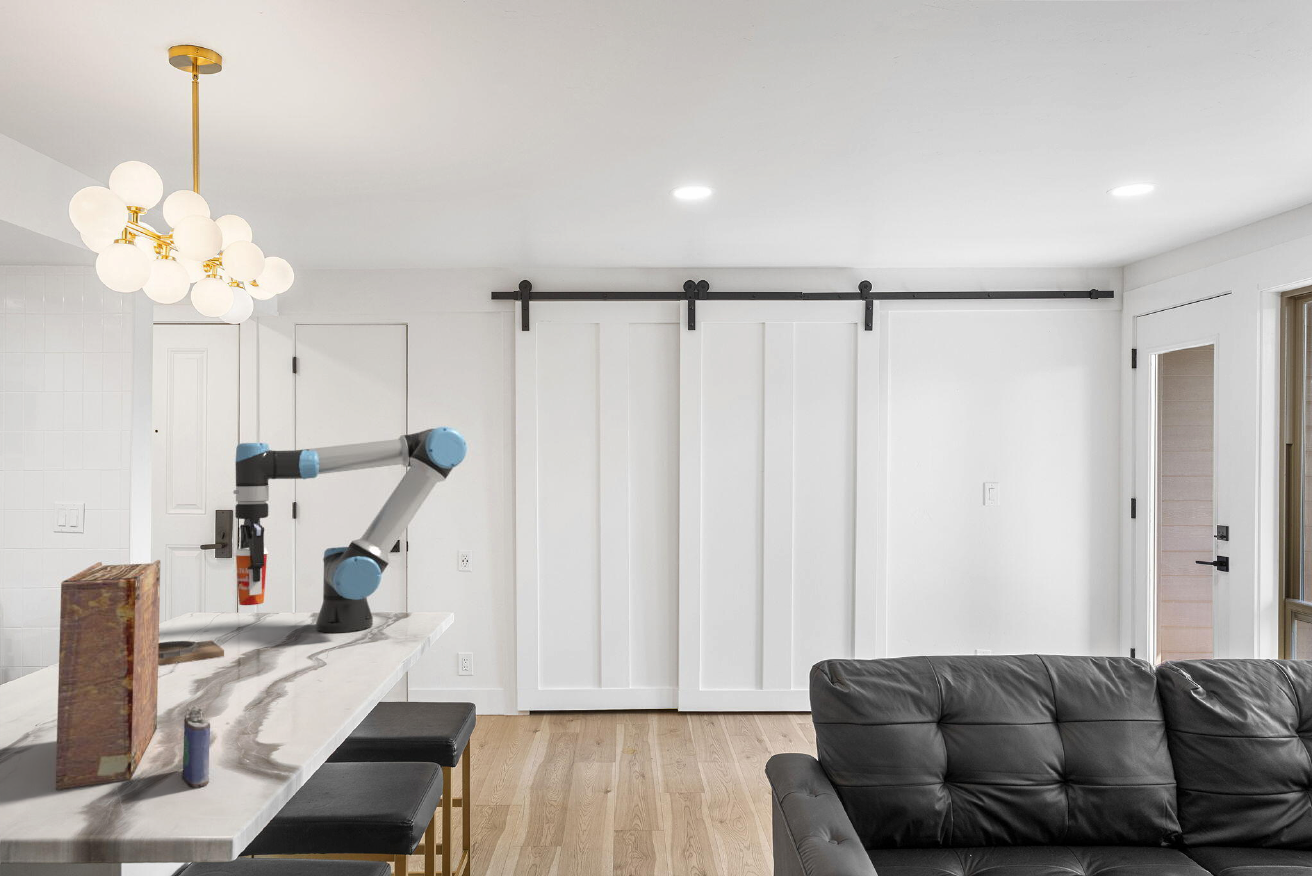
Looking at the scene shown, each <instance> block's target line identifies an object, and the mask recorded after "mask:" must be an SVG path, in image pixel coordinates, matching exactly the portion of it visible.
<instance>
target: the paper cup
mask: <svg viewBox="0 0 1312 876" xmlns="http://www.w3.org/2000/svg"><path fill="white" fill-rule="evenodd" d="M268 554H269V551H268V550H267V547H265V546H264V563H265V565H264V566H263V567H262V594H257V595H249V569H248V567H249V566H251V564H250V550H249V548H241V549H240V548H237V549H236V552H235V554H234V556H235V561H236V562H235V563H236V574H237V575H236V577H237V593H238V594H237V595H238V603H239V606H256V605H261V604H264V601H265V590H266V588H265V587H266V578H267V577H266V576H267V574H266V573H267V572H266V571H267V559H268V557H267V556H268Z"/></svg>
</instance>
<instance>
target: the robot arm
mask: <svg viewBox="0 0 1312 876" xmlns="http://www.w3.org/2000/svg"><path fill="white" fill-rule="evenodd" d="M235 449H236V452H235V490H233V492H232V493H233V494H234V495H235V502H237V504H236V505H235V512H234V513H235V514H234V515H235V518H236V519H238V520H243V524H240V526H239V529H240V546H239V549H241V548H249V550H250V564H251V566H249V567H248V569H249V595H257V594H262V567H263V566H264V565H265V563H264V547H265V537H264V536H265V527H264V526H263V525H261V519H267V518H268V517H269V503H267V502H268V501H270V500H269V499H270V498H269V497H270V495H269V487H270V486H269V480H300V479H301V480H307V479H315V478H317V477H318V476H319V475H323V474H325V475H326V474H332V473H333V474H334V473H341V472H349V471H357V470H365V469H372V468H373V469H374V468H382V467H389V466H390V467H391V466H398V465H401V466H403V467H404V468H408V470H407V471H406V473H405V474H404V475H403V477H402V479H401V480H400V481H399V483H398V484H397V486H395V488H394V490H393V492H391V494H390V496H389V497H388V499H387V500H385V503H384V504H383V506H382V507H381V509H380V510H379V512H378V513H377V515H376V516H375V517H374V519H373V520H372V521H371V523H370V524H369V526H368V527H367V529H366V530H365V532H364V533H363V535H362V536H361V537H360V538H358V539H355V540H351V542H350V544H349V545H348V546H342V547H341V546H340V547H339V546H338V547H329V548H327V549H325V550H324V553H323V558H322V560H323V592H322V594H323V599H322V600H323V601H322V605H321V607H320V611H319V612H318V616H317V619H316V622H315V630H316V631H318V632H322V633H329V634H330V633H331V634H332V633H336V634H337V633H350V632H357V631H356V630H358V631H363V630H366V629H365V628H367V629H369V627H370V626H372V625H374V620H373V619H374V618H373V615H372V614H373V613H372V612H371V608H370V606H369V605H370V604H369V602H368V598H369V596H372V595H373V594H374V592H375V591H377V589H378V588H379V585H380V584H381V579H382V574H383V573H384V571H385V570H386V568H387V567H388V566H389V564H390V560H389V559H390V558H389V554H390V552H391V551H392V549H393V548H394V546H395V545H396V543H397V542H398V540H399V539H400V538H401V537H402V535H403V533H404V532H405V530H406V529H407V528H408V525H409V524H410V523H411V522H412V520H413V519H414V517H415V515H416V514H417V512H418V511H419V510H420V509H421V507H422V505H423V503H424V502H425V501H426V499H427V498H428V496H429V495H430V493H431V492H432V490H433V489H434V487H435V486H436V485H437V483H440V482H443V481H446V479H447V478H448V477H449V474H450V473H451V472H452V470H453V469H454V468H456V467H457V466H459V465H460V464H461V463H462V462H463V461H464V460H465V457H466V455H467V443H466V439H465V438H464V436H463V435H462V434H461V433H460V432H459V431H458V430H457V429H455V428H451V427H448V426H438V427H436V428H430V429H429V428H428V429H425V430H422V431H420V432H415V433H410V434H403V435H400V436H399V438H397V439H388V440H377V441H371V442H370V441H369V442H368V441H367V442H359V443H351V444H342V445H333V446H324V447H323V446H322V447H314V448H312V447H311V448H306V449H304V448H303V449H294V450H273V449H272V450H271V449H270V447H269V444H268V443H266V442H241V443H239V444H238V445H236V448H235ZM372 627H373V626H372ZM370 628H371V627H370ZM362 629H363V630H362Z"/></svg>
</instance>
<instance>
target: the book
mask: <svg viewBox="0 0 1312 876" xmlns="http://www.w3.org/2000/svg"><path fill="white" fill-rule="evenodd" d="M160 592H161V559H157V560H155V561H154V562H153V563H151V562H149V563H133V564H132V563H131V564H130V563H129V564H111V565H110V564H109V565H107V564H105V565H103V563H102V561H99V562H96V563H95V564H93V565H90V566H89V567H88V568H85V569H83V570H82V571H80V572H78V573H76V574H75V575H73V576H70V577H69V578H67V579H65V580H63V581H61V584H60V616H59V619H60V620H59V622H60V623H59V649H58V650H59V651H58V652H59V653H58V655H59V657H58V685H57V687H58V689H57V693H58V694H57V698H58V699H57V718H56V719H57V725H56V755H55V757H56V759H55V760H56V761H55V791H58V790H64V789H66V790H67V789H72V788H80V787H86V786H92V785H98V784H99V785H102V784H107V783H114V782H121V781H127V780H131V779H132V778H133V776H134V774H135V772H136V771H137V768H138V766H139V764H140V762H141V760H142V758H143V756H144V754H145V753H146V751H147V748H148V746H149V744H150V742H151V740H152V739H153V737H154V734H155V733H156V731H157V727H158V689H159V688H158V686H159V685H158V683H159V681H158V680H159V666H158V648H159V643H160V642H159V641H160V637H159V636H160V633H159V632H160V601H161V600H160V597H161V593H160Z"/></svg>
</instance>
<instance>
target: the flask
mask: <svg viewBox="0 0 1312 876" xmlns="http://www.w3.org/2000/svg"><path fill="white" fill-rule="evenodd" d="M203 708H204V706H203V705H202V706H201V707H198V706H197V705H194V706H188V707H187V709H186V710H187V712H186V713H185V715H184V722H183V727H184V728H183V731H184V732H183V754H182V755H183V756H182V772H181V779H182V780H183V781H184V783H185V784H186V785H187V786H188V787H190V788H192V789H200V788H202V787H207V785H208V784H209V782H210V776H209V775H210V737H211V736H210V735H211V723H210V722H209V721H208V720H207V719H205V718H204V711H203Z"/></svg>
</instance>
